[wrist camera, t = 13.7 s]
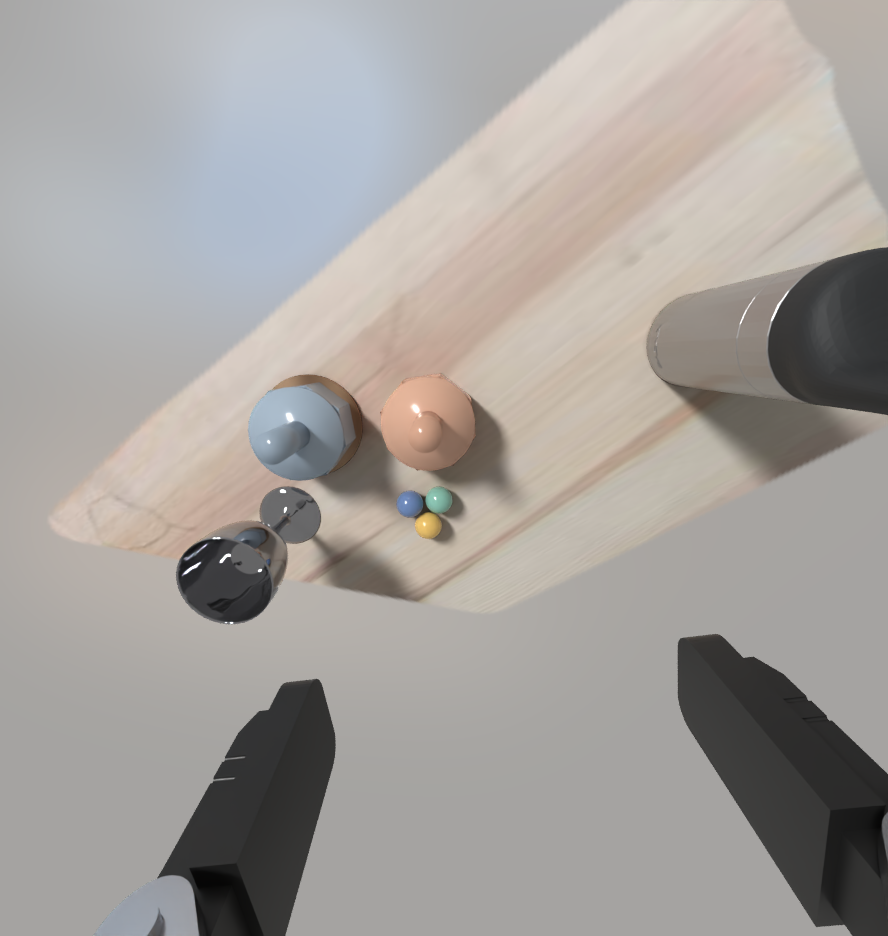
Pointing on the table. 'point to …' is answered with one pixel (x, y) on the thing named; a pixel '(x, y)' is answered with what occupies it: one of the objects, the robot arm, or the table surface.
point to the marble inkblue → (409, 504)
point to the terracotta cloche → (428, 422)
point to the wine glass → (246, 558)
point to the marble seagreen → (439, 500)
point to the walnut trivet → (341, 393)
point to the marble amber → (428, 525)
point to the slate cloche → (301, 431)
